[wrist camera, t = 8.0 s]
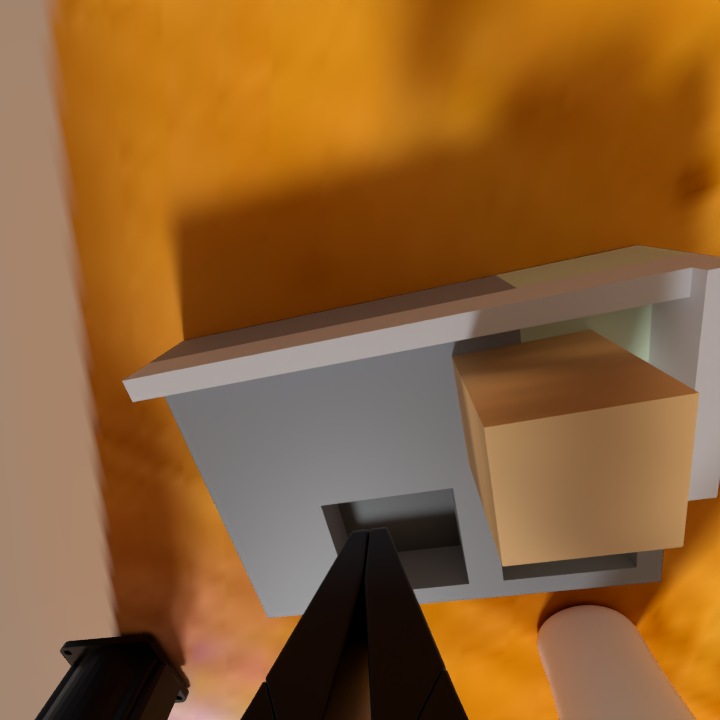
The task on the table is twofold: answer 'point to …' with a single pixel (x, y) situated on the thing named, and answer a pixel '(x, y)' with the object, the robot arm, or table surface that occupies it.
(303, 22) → the table surface
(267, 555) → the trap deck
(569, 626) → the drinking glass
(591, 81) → the table surface
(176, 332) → the table surface
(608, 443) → the ochre block
